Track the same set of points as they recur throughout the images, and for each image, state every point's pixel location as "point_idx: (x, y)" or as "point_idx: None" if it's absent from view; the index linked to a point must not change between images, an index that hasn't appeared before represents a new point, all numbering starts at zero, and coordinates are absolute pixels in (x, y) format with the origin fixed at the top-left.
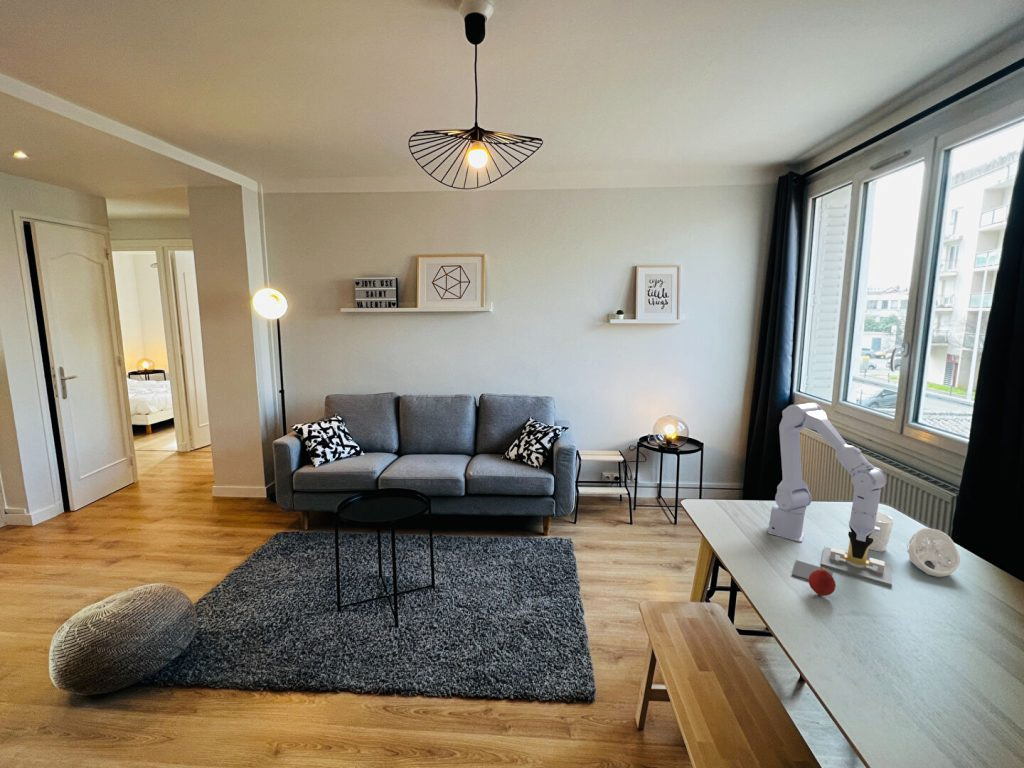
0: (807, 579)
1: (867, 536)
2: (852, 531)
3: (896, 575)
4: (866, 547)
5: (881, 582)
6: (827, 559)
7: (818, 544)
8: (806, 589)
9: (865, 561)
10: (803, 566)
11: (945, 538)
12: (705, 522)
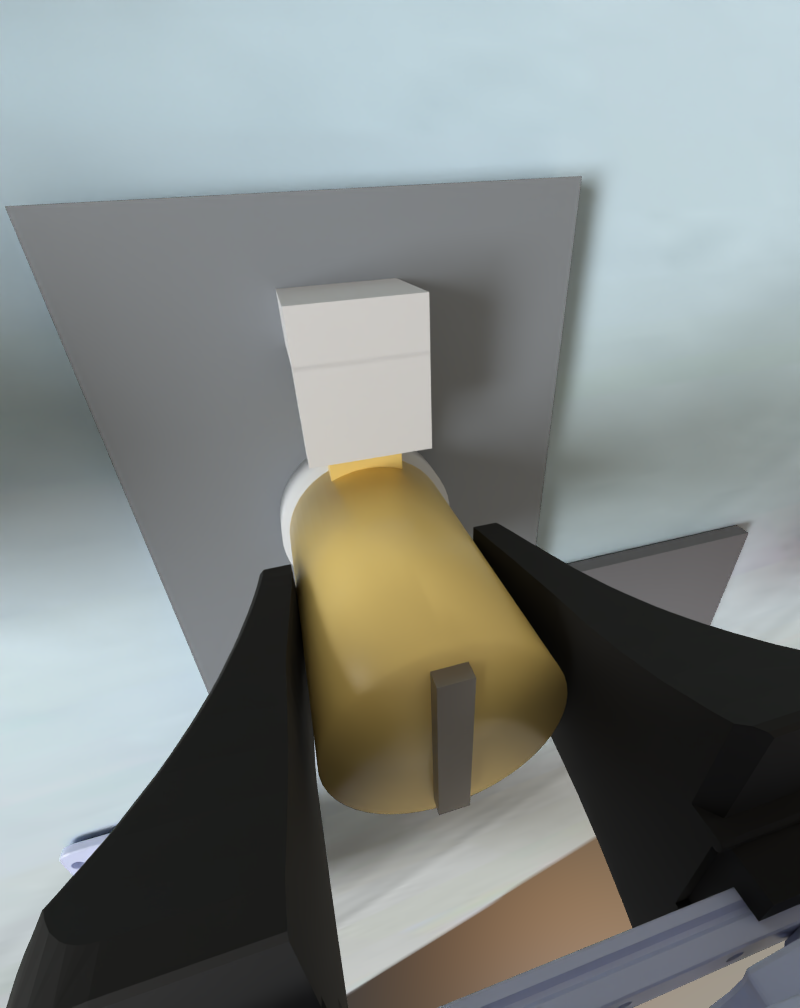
0: (708, 619)
1: (294, 761)
2: (330, 907)
3: (201, 119)
4: (665, 619)
5: (561, 277)
6: None
7: (167, 743)
8: (777, 589)
9: (408, 476)
10: None
11: None
12: (392, 958)
